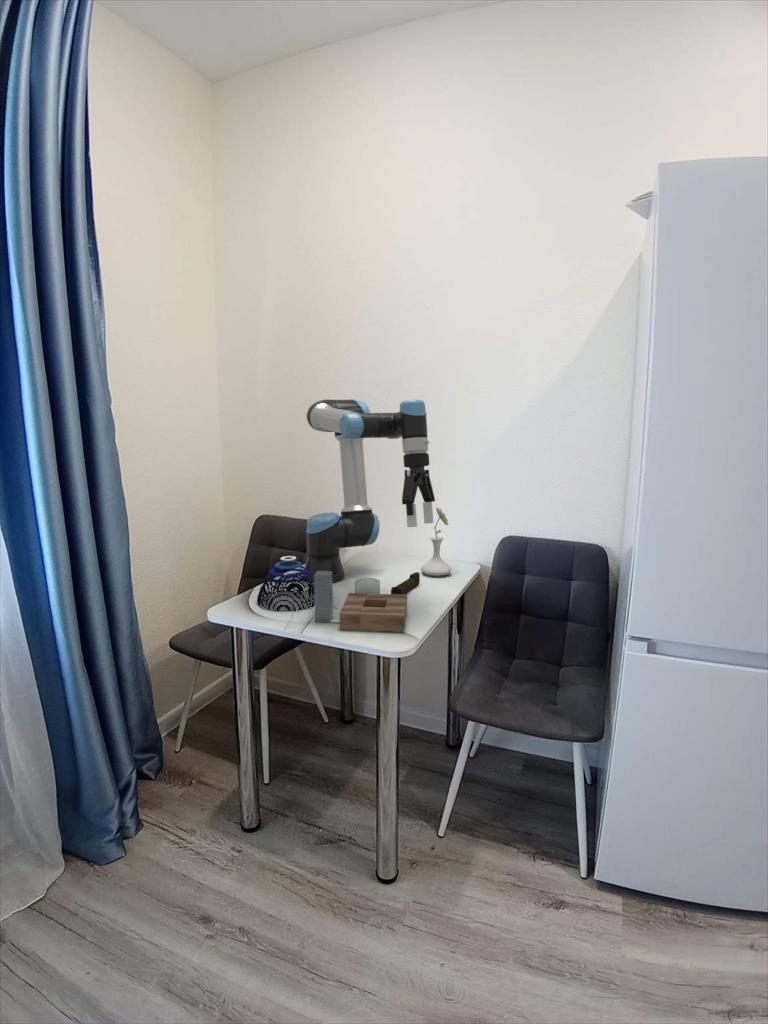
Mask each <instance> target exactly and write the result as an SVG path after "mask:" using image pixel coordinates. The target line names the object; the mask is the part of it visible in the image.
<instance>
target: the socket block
mask: <svg viewBox="0 0 768 1024" xmlns="http://www.w3.org/2000/svg"><path fill="white" fill-rule="evenodd" d="M407 615H408V594H405V593H404V594H391V593H380V594H374V593H355V592H348V594H347V597H346V599H345V600H344V603H343V605H342V607H341V609H340V611H339V631H347V630H348V631H349V632H351V631H352V632H353V631H354V632H373V631H394V632H393V633H399V632H404V633H405V630H404V629H406V623H407V622H406V621H407ZM405 622H406V623H405Z"/></svg>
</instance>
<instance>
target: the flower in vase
mask: <svg viewBox="0 0 768 1024" xmlns="http://www.w3.org/2000/svg"><path fill="white" fill-rule="evenodd" d="M435 510H436V513H437V515H438V519H437V521H436V523H435V526H433V528H434V532H435V533H434V535H435V536H431V537H429V538H430V540H431V543H432V546H433V553H432V554H433V555H432V557H431V558H430V560H428V561H427V562H425V563H424V564H423V565H422V566H421V569H420V570H421V572H422V573H423V574H425V575H428V576H434V577H435V576H436V577H440V576H446V575H449V574H451V572H452V568H451V566H450V565H449V564H448V563H447V562H446V561H445V560H443V559H442V558H441V555H440V552H441V551H440V550H441V545H442V541H444V537H442V536H438V534H440V533H441V532H442V530H440V529H439V530H438V531H437V525H438V523H439V521H440V520H441V521H442V523H443V524H444V525H446V526H448V525H449V520H448V519H447V518H446V514H445V513H443V511H442V509H441V508H439V507H438V506H437V507H435Z"/></svg>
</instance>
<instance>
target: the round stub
mask: <svg viewBox="0 0 768 1024" xmlns="http://www.w3.org/2000/svg"><path fill="white" fill-rule="evenodd" d="M354 593H374V594H381V581H380V580H379V579H377V578H374V577H361V578H357V579H355V580H354Z"/></svg>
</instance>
